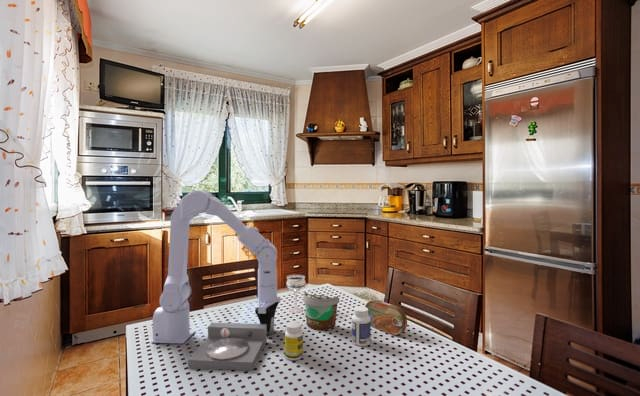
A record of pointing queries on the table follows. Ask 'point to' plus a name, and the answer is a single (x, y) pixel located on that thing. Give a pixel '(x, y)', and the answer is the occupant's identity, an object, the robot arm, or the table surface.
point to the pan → (227, 349)
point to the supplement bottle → (294, 341)
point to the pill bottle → (361, 326)
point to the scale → (217, 331)
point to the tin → (386, 317)
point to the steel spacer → (271, 328)
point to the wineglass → (295, 288)
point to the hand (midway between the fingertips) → (267, 328)
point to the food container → (320, 311)
